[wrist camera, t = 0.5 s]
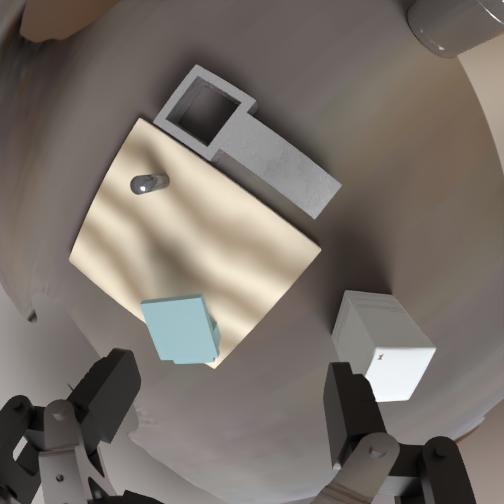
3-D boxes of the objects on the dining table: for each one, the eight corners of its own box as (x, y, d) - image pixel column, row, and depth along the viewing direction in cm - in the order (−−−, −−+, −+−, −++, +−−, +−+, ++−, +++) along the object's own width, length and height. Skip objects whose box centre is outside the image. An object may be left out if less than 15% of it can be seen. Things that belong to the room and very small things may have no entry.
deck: (143, 119, 29) (139, 117, 28) (320, 247, 32) (321, 249, 31) (73, 257, 35) (68, 260, 34) (215, 363, 38) (214, 368, 37)
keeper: (163, 278, 35) (139, 304, 28) (214, 270, 34) (200, 297, 27) (181, 336, 37) (164, 369, 30) (230, 332, 37) (221, 367, 29)
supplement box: (329, 337, 36) (349, 404, 24) (344, 287, 34) (376, 346, 22) (377, 340, 36) (408, 402, 24) (394, 294, 34) (438, 347, 21)
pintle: (164, 170, 31) (136, 171, 24) (176, 178, 31) (150, 182, 24) (156, 182, 31) (126, 187, 24) (168, 191, 32) (140, 198, 24)
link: (166, 126, 29) (152, 122, 26) (204, 75, 27) (196, 64, 24) (300, 224, 32) (304, 231, 28) (341, 172, 30) (351, 173, 26)
